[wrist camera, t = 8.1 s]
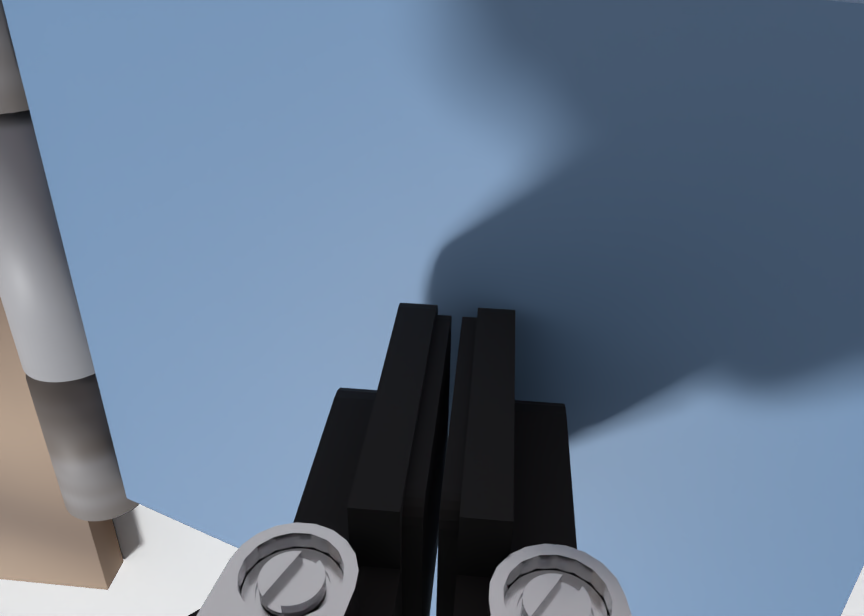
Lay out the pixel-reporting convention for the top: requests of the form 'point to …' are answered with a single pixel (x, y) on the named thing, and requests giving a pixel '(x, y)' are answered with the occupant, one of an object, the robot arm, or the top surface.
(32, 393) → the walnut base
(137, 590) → the top surface
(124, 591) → the top surface
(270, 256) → the hinged blue panel
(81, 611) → the top surface
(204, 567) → the top surface
